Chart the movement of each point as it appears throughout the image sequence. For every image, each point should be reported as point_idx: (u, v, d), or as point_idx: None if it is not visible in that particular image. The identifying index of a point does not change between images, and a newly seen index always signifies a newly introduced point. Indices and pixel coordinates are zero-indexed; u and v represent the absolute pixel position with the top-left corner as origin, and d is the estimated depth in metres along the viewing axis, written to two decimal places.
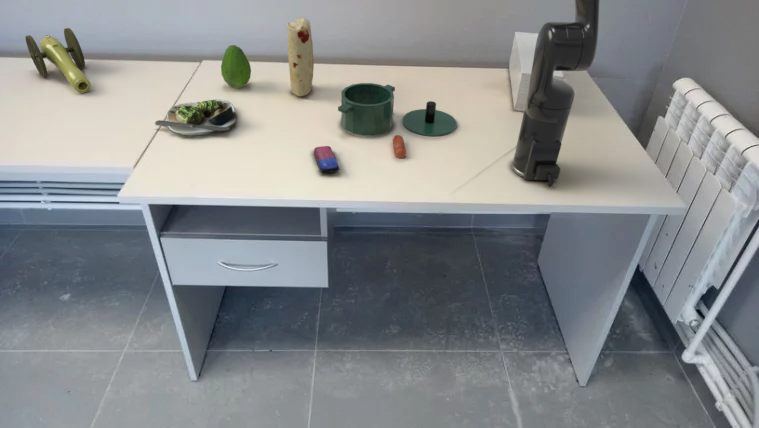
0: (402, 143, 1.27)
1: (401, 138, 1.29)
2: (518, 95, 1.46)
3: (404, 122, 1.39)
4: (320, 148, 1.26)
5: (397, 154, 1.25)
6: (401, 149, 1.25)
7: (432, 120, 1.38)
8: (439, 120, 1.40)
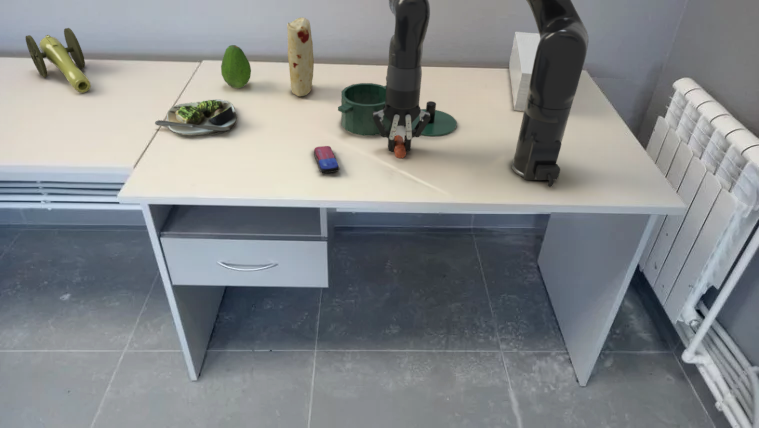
0: (402, 143, 1.27)
1: (401, 138, 1.29)
2: (518, 95, 1.46)
3: None
4: (320, 148, 1.26)
5: (397, 154, 1.25)
6: (401, 149, 1.25)
7: (432, 120, 1.38)
8: (439, 120, 1.40)
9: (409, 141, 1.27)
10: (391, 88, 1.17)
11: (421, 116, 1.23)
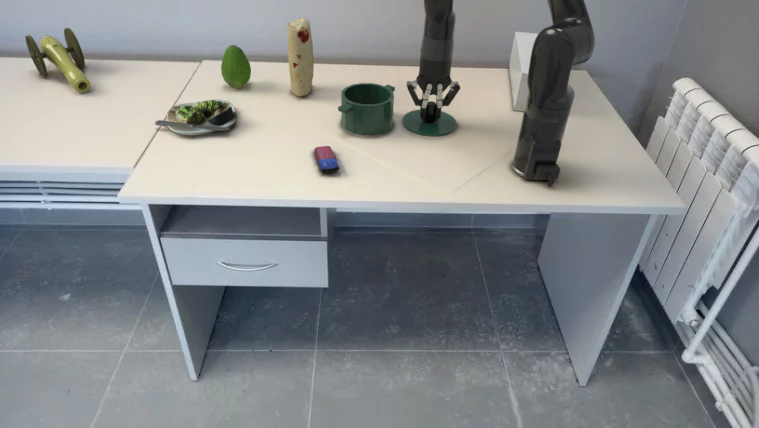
0: None
1: None
2: (518, 95, 1.46)
3: (404, 122, 1.39)
4: (320, 148, 1.26)
5: None
6: None
7: (432, 120, 1.38)
8: (439, 120, 1.40)
9: (439, 110, 1.37)
10: (425, 58, 1.27)
11: (451, 86, 1.33)
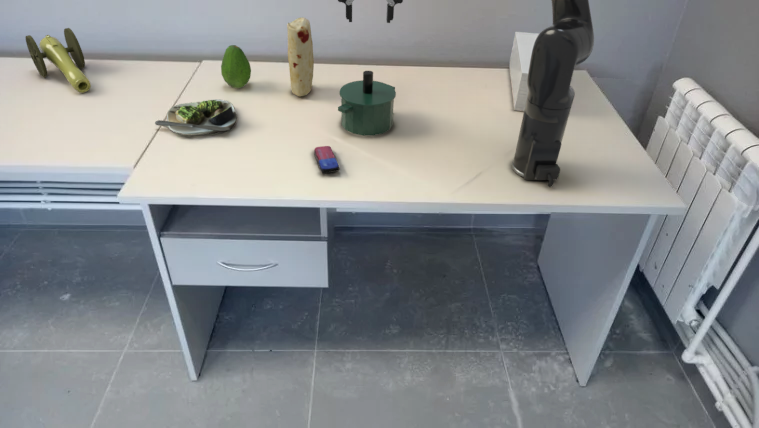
0: None
1: None
2: (518, 95, 1.46)
3: (340, 92, 1.33)
4: (320, 148, 1.26)
5: None
6: None
7: (370, 90, 1.32)
8: (378, 91, 1.34)
9: (392, 9, 1.21)
10: None
11: None
